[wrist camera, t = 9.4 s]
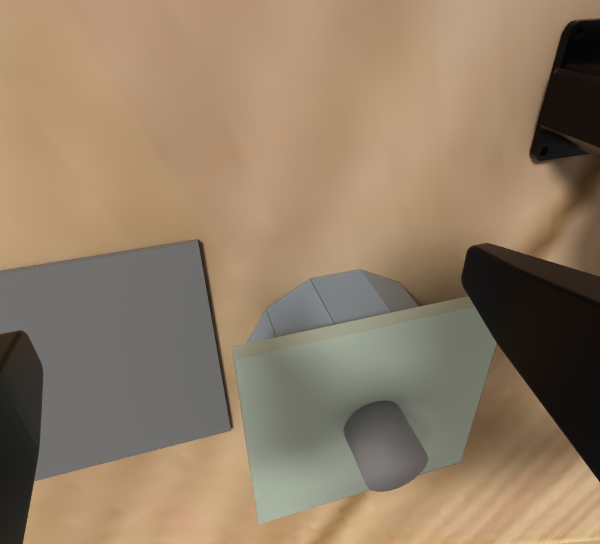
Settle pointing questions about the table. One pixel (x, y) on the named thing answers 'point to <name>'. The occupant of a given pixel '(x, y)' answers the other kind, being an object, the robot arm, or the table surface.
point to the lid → (360, 403)
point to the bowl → (332, 303)
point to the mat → (118, 353)
